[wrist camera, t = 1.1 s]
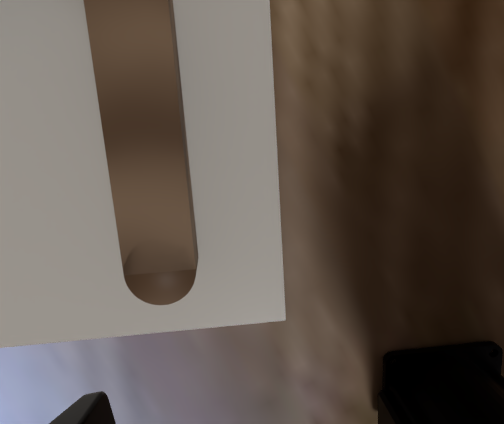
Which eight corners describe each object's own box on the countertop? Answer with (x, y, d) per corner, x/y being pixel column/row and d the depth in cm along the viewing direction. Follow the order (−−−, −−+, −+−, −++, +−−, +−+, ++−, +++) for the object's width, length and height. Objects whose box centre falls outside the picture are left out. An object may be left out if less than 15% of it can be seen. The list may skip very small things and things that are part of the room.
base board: (252, -285, 16) (253, -305, 15) (283, 312, 22) (285, 320, 21) (-399, -276, 15) (-434, -298, 14) (-181, 357, 20) (-197, 366, 20)
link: (52, -181, 15) (28, -224, 13) (173, -184, 15) (166, -227, 14) (122, 290, 20) (111, 309, 18) (215, 282, 20) (215, 300, 18)
